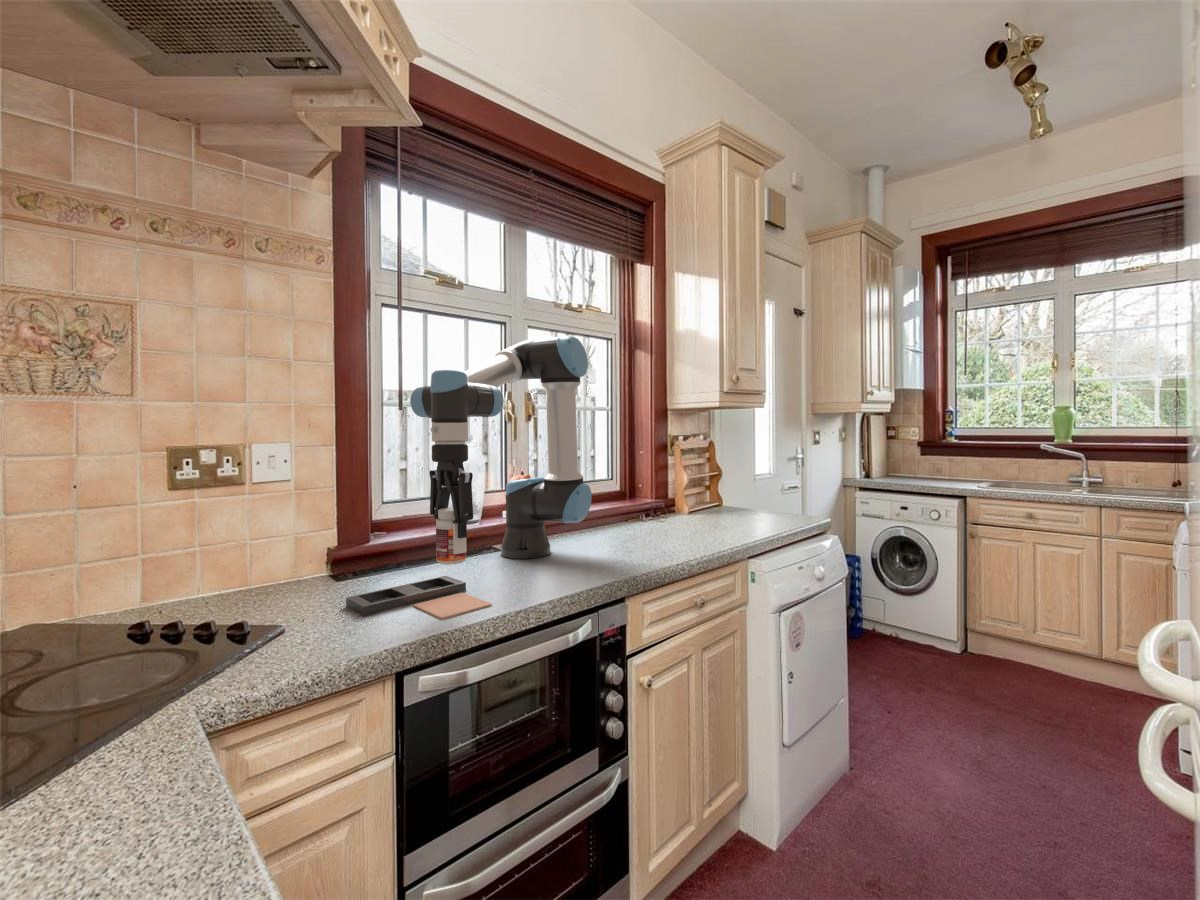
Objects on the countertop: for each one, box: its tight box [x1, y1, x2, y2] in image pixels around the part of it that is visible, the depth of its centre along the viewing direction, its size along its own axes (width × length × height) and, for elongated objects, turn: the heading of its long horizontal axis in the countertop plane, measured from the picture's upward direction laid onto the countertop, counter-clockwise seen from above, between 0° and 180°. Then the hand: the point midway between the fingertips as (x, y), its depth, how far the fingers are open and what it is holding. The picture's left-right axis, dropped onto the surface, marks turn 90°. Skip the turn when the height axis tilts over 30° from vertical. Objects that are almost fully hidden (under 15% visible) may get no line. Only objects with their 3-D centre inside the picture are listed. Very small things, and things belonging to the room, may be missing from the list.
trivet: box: [412, 592, 493, 621], centre depth 117 cm, size 12×12×1 cm
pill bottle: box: [435, 507, 467, 566], centre depth 116 cm, size 6×6×11 cm
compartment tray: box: [345, 575, 467, 617], centre depth 122 cm, size 24×9×2 cm, turn 136°
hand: (451, 550), depth 116 cm, fingers closed on pill bottle, 6 cm apart
